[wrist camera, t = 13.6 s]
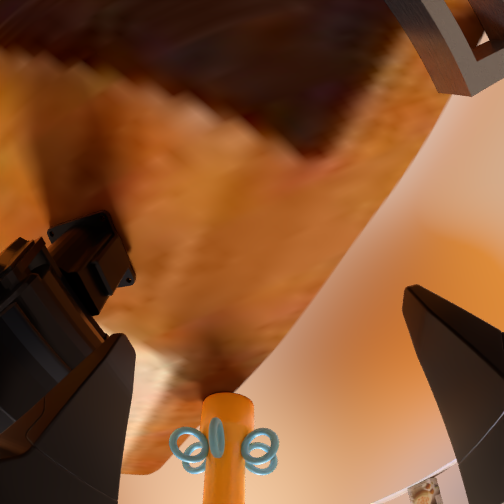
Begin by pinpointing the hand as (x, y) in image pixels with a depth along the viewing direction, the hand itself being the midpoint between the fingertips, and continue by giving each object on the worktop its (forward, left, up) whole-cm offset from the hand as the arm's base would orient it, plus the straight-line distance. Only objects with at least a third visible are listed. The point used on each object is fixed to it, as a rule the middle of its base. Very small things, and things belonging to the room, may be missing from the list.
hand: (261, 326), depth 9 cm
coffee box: (+36, -103, -13) cm, 110 cm away
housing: (+17, +12, -13) cm, 25 cm away
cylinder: (-8, -24, -13) cm, 29 cm away
